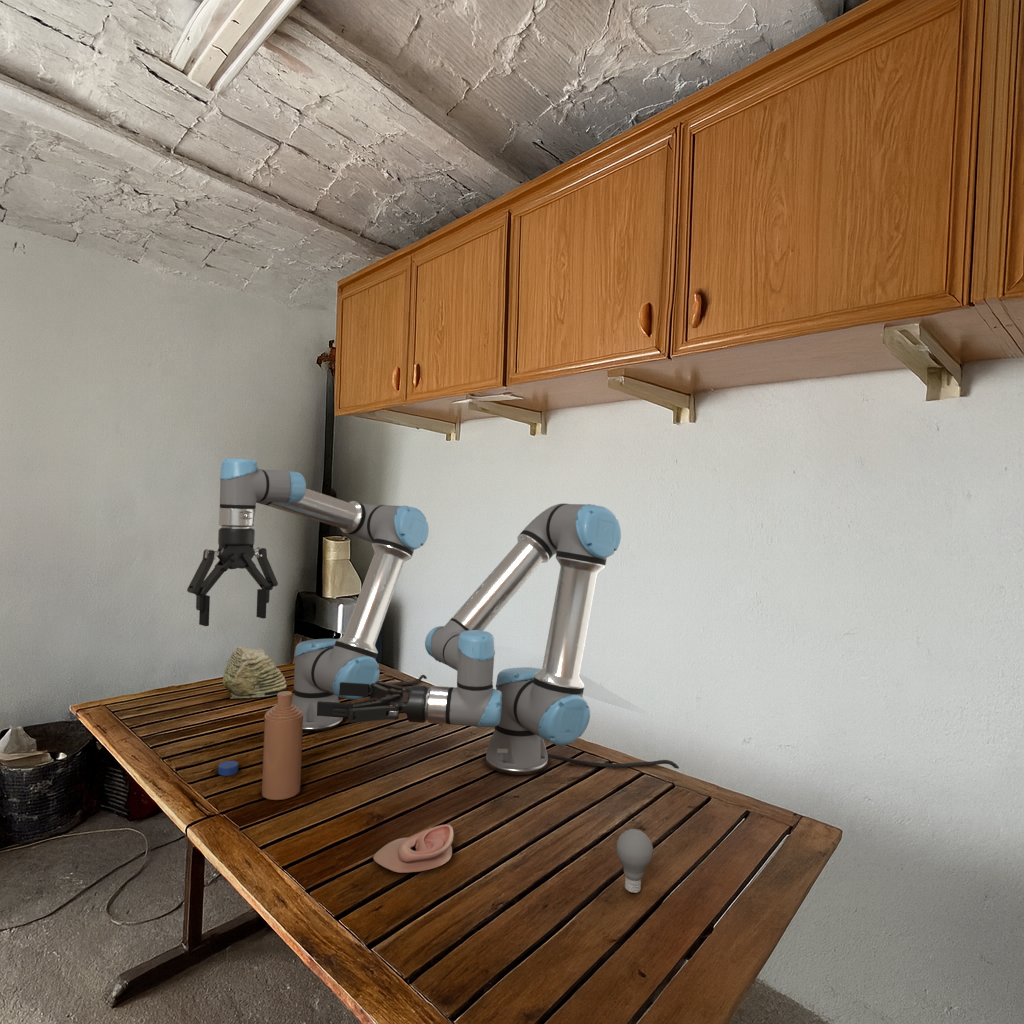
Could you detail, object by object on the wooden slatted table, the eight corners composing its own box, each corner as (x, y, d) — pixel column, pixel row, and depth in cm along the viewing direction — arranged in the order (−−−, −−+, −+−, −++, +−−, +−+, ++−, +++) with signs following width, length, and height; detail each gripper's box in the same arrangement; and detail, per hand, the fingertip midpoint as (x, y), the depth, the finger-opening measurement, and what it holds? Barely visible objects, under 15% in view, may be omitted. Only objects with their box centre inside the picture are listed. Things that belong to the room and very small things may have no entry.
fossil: (218, 695, 195) (220, 647, 195) (278, 685, 208) (279, 640, 207) (228, 703, 189) (230, 653, 188) (289, 692, 201) (290, 645, 201)
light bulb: (610, 879, 108) (613, 822, 108) (644, 879, 109) (647, 822, 109) (619, 902, 102) (622, 840, 102) (655, 901, 103) (658, 840, 103)
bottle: (284, 780, 141) (287, 685, 140) (308, 789, 137) (311, 692, 136) (253, 793, 134) (257, 693, 134) (278, 803, 130) (281, 701, 130)
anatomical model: (366, 844, 109) (392, 812, 120) (365, 867, 109) (391, 833, 120) (440, 856, 106) (459, 823, 117) (439, 880, 106) (458, 844, 117)
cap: (218, 769, 145) (218, 761, 145) (238, 767, 146) (238, 759, 146) (217, 776, 141) (217, 769, 141) (238, 774, 142) (238, 767, 142)
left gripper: (189, 529, 130) (186, 631, 131) (295, 527, 150) (291, 616, 151) (172, 526, 135) (168, 626, 135) (276, 526, 155) (273, 612, 155)
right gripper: (414, 744, 121) (306, 737, 122) (437, 703, 146) (347, 697, 147) (416, 705, 121) (307, 698, 122) (439, 670, 146) (348, 665, 147)
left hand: (233, 621), depth 143 cm, fingers open, 13 cm apart
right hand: (329, 698), depth 134 cm, fingers open, 13 cm apart
